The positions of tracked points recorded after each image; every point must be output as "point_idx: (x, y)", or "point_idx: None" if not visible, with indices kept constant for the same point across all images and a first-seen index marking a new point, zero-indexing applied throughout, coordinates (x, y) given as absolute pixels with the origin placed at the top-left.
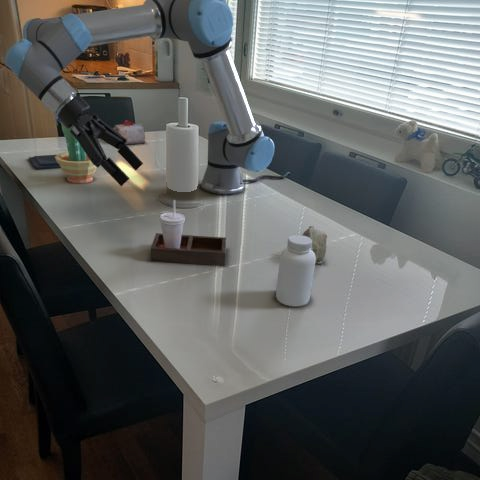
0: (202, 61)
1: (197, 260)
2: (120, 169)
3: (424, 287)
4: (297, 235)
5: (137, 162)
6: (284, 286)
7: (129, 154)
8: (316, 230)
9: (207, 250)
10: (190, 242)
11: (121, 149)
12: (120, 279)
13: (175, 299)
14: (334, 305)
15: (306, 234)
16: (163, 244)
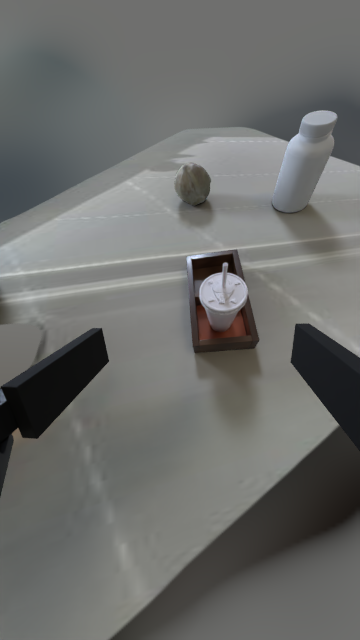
0: None
1: None
2: (328, 343)
3: (225, 144)
4: (307, 121)
5: (95, 344)
6: (315, 185)
7: (66, 368)
8: (191, 164)
9: (237, 267)
10: None
11: (35, 410)
12: None
13: (355, 293)
14: None
15: (199, 172)
16: (199, 339)
